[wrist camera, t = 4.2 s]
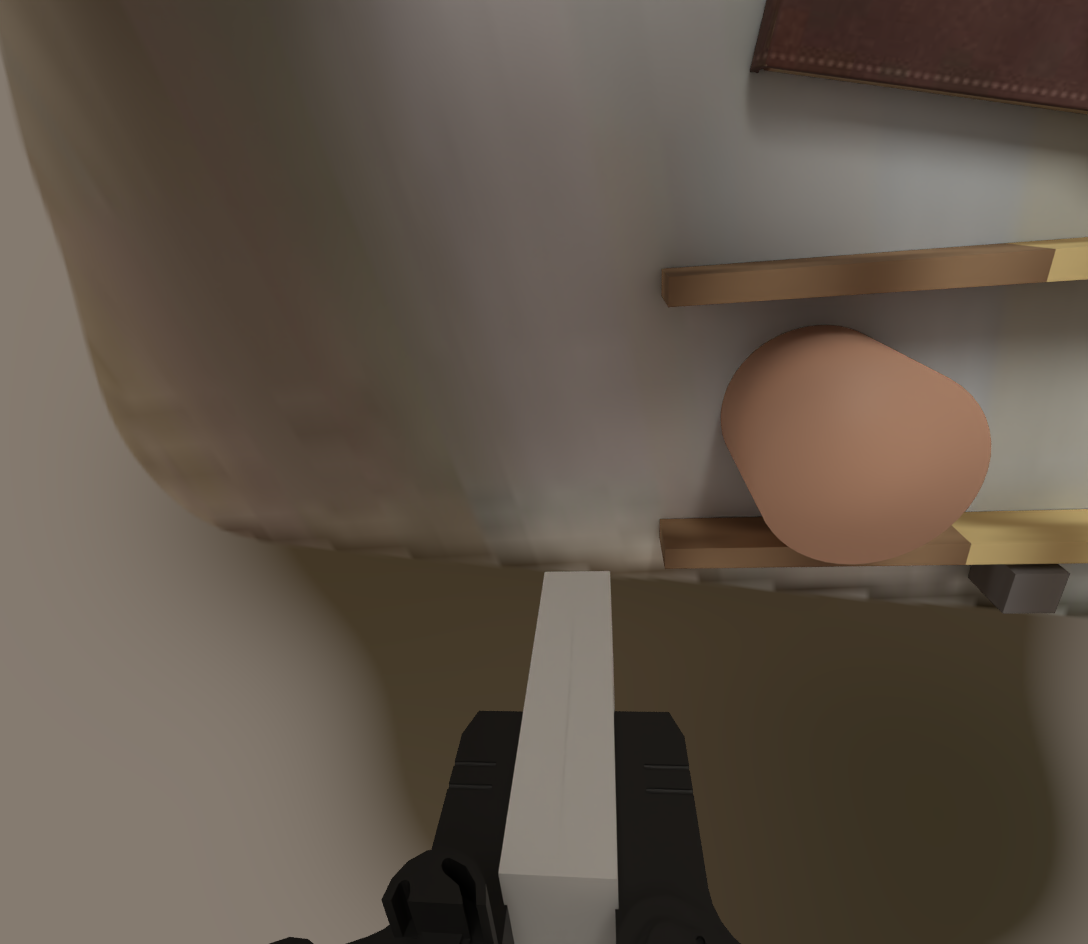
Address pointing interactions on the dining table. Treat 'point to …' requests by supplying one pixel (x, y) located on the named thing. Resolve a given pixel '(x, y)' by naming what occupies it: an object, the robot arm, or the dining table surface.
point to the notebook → (936, 47)
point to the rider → (852, 444)
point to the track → (976, 537)
